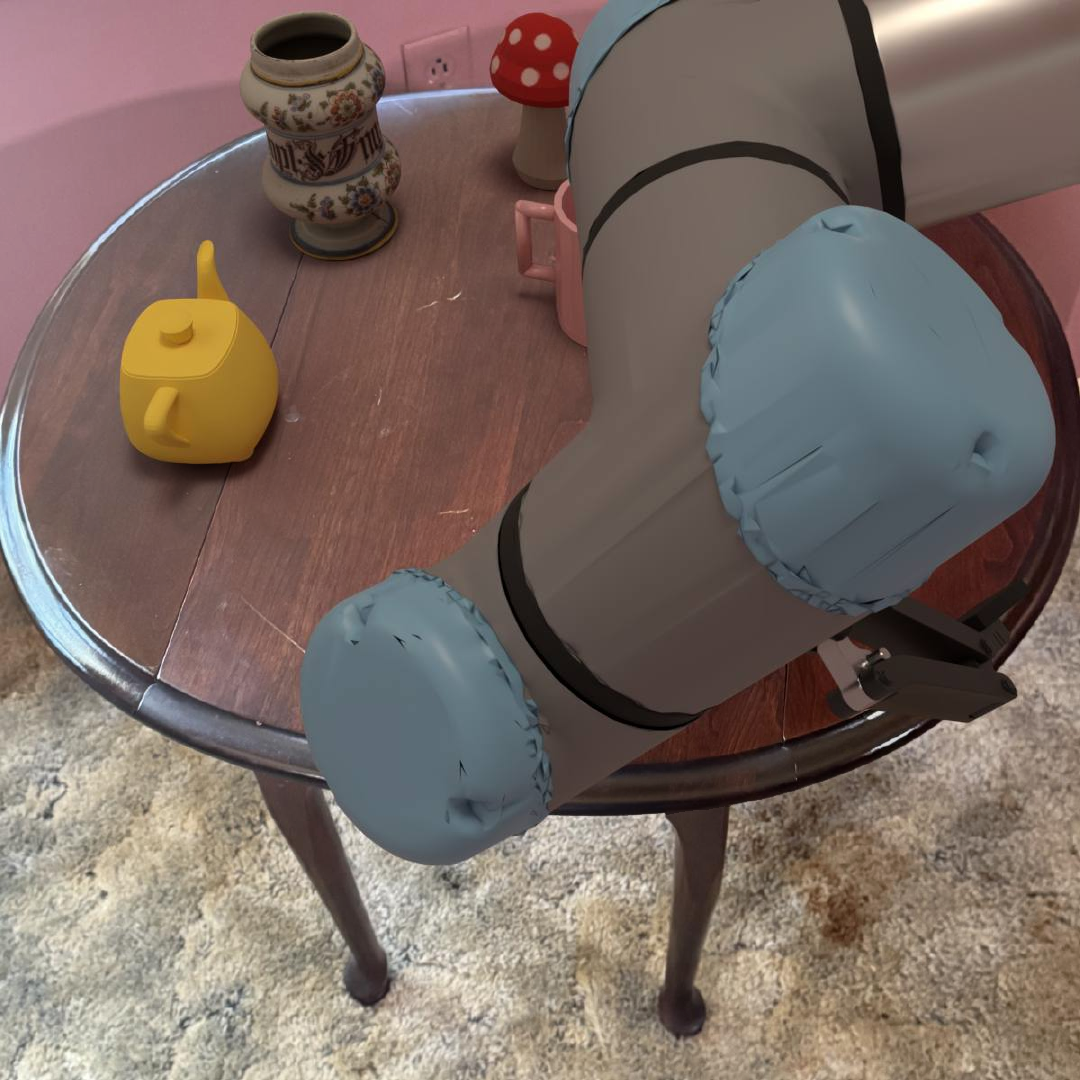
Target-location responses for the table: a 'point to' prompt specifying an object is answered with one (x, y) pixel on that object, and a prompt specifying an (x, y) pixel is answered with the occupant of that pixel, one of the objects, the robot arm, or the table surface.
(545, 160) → the decorative mushroom
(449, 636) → the robot arm
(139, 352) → the teapot
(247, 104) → the apothecary jar
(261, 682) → the table surface
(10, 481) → the table surface
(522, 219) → the pink ribbed mug
